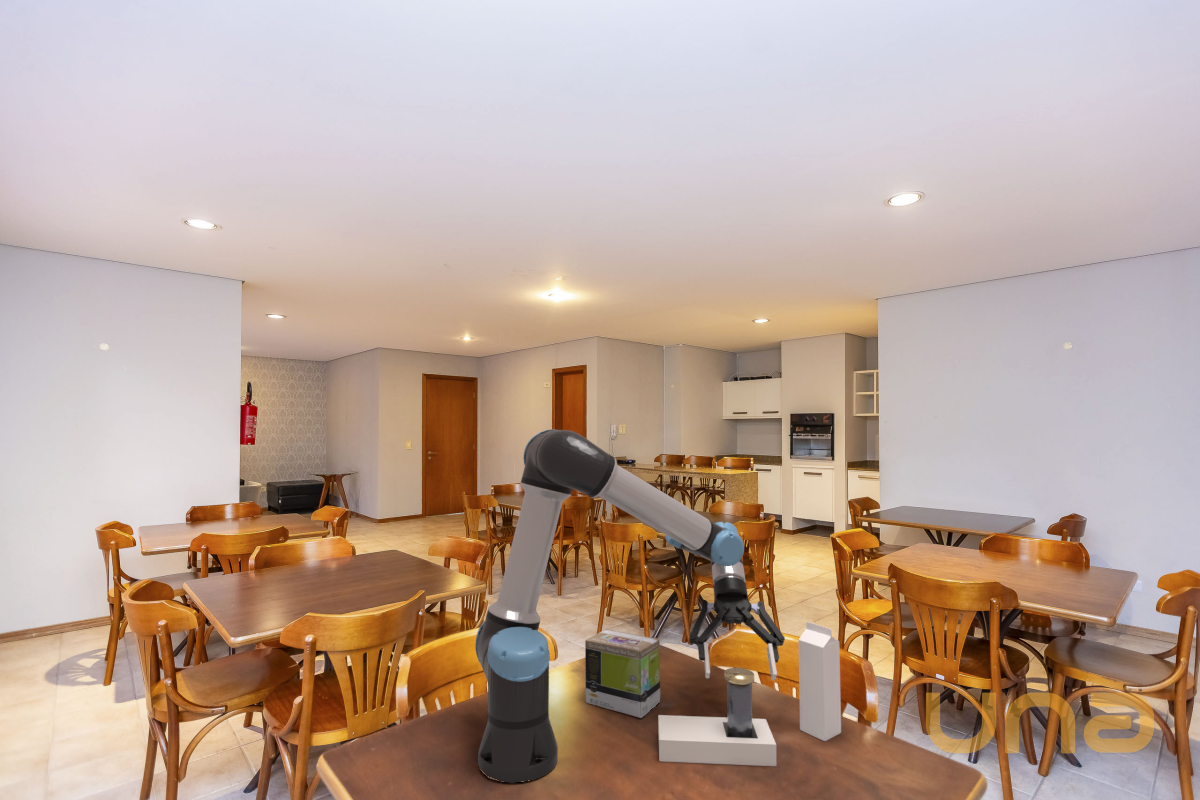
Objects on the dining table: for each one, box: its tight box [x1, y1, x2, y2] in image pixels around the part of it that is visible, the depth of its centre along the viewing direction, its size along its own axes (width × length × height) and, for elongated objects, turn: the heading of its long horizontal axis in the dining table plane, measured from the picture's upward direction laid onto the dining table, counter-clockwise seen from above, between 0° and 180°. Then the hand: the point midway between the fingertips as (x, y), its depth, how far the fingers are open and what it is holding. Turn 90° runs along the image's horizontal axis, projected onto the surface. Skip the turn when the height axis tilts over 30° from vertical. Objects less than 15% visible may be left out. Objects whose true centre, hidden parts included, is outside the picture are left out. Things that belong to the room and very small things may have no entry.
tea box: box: [584, 628, 661, 719], centre depth 139 cm, size 15×10×15 cm, turn 58°
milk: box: [798, 621, 842, 742], centre depth 126 cm, size 6×6×22 cm
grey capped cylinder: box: [723, 667, 755, 738], centre depth 119 cm, size 6×6×15 cm
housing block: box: [657, 714, 778, 767], centre depth 119 cm, size 22×10×4 cm, turn 85°
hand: (740, 676), depth 124 cm, fingers open, 13 cm apart
